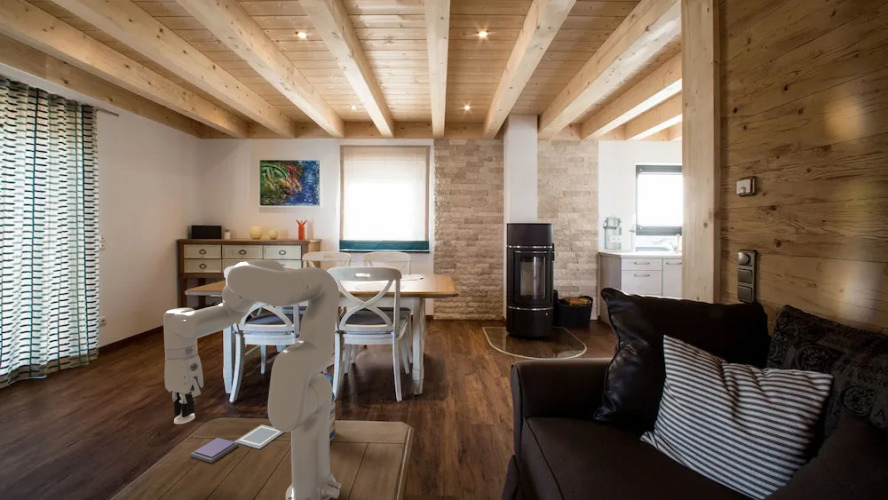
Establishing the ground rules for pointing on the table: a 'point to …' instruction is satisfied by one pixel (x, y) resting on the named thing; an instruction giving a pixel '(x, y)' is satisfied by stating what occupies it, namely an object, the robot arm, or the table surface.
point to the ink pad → (214, 450)
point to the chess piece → (186, 419)
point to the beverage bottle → (332, 413)
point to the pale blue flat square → (259, 437)
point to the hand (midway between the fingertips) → (184, 413)
